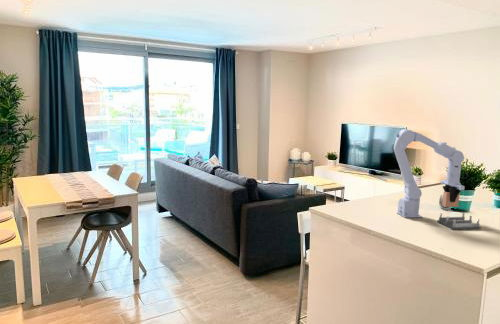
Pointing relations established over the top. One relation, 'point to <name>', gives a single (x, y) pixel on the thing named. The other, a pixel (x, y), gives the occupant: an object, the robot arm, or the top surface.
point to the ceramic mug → (441, 204)
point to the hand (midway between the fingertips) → (450, 201)
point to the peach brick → (447, 202)
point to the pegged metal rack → (458, 222)
